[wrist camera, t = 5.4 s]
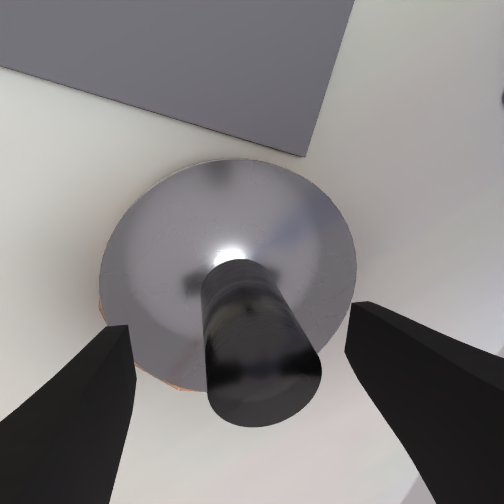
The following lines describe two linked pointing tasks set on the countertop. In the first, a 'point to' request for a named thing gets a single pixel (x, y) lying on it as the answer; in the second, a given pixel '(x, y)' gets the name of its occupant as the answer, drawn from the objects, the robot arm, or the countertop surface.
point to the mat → (188, 58)
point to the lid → (232, 285)
